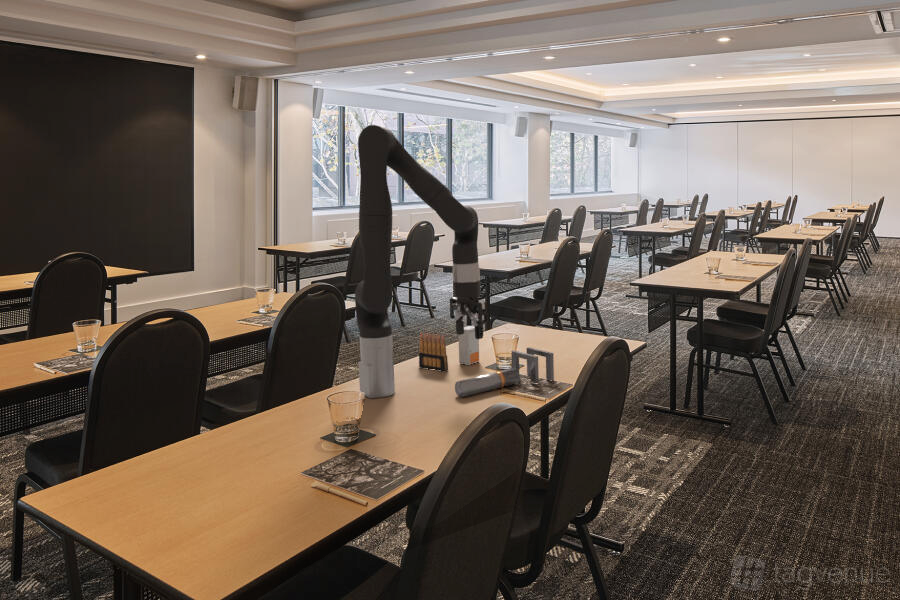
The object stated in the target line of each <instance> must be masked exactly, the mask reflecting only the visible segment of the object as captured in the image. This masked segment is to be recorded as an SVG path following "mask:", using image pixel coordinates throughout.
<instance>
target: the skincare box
mask: <svg viewBox="0 0 900 600" xmlns="http://www.w3.org/2000/svg"><path fill="white" fill-rule="evenodd" d="M457 336H458V337H457V338H458V361H459V362H458V363H460V364H459V365H461V364H465V365H464V366H468V365H469V366H471V364H472V365H474V364H473V363H475V364H477V362H478V363H479V362H480V344H479V343H480V339H476V338H475V325H467V326H464V334H461V335H457Z"/></svg>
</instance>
